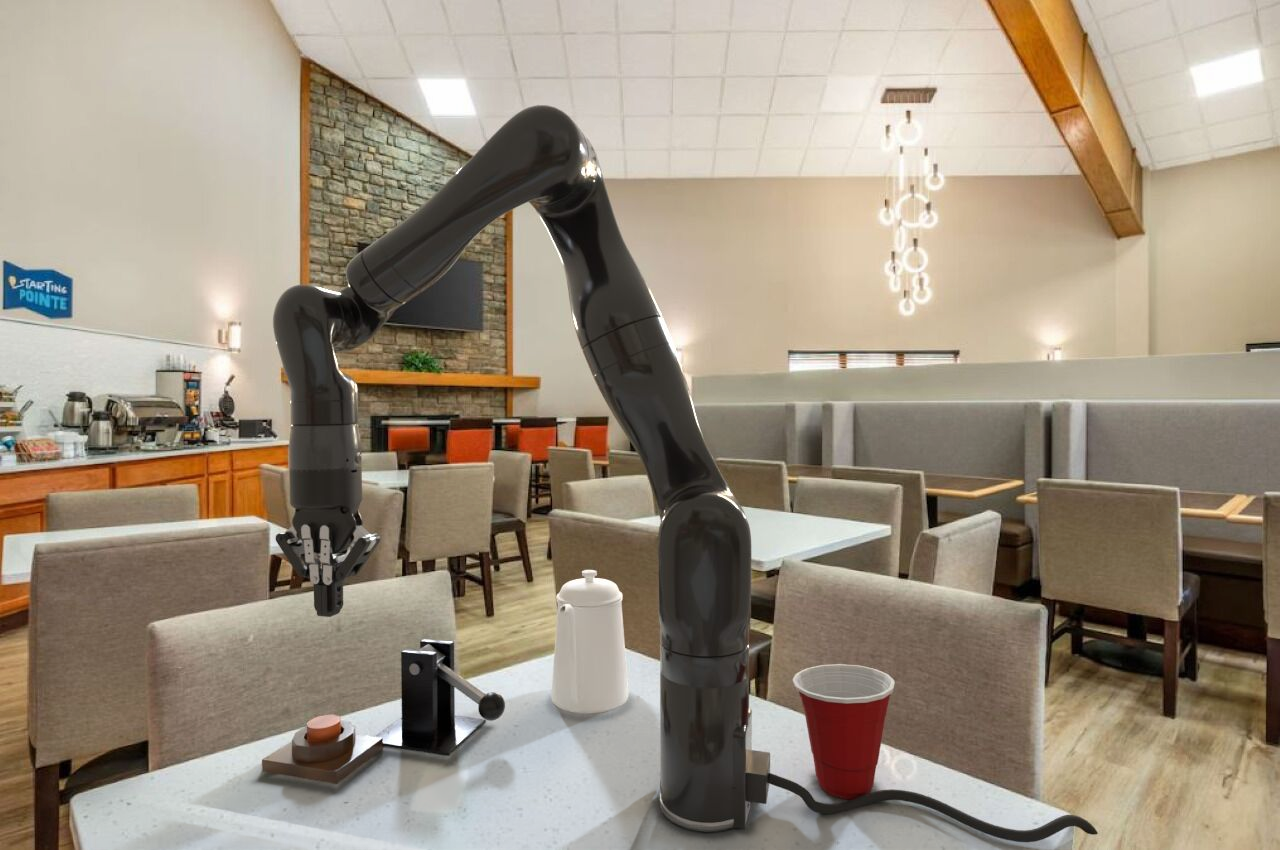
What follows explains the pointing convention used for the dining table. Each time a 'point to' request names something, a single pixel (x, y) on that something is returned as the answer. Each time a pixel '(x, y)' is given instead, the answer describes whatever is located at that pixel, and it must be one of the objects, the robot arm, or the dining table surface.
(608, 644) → the coffeepot
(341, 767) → the button base
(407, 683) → the lever base
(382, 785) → the dining table surface
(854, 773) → the plastic cup
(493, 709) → the lever
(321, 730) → the warm button
